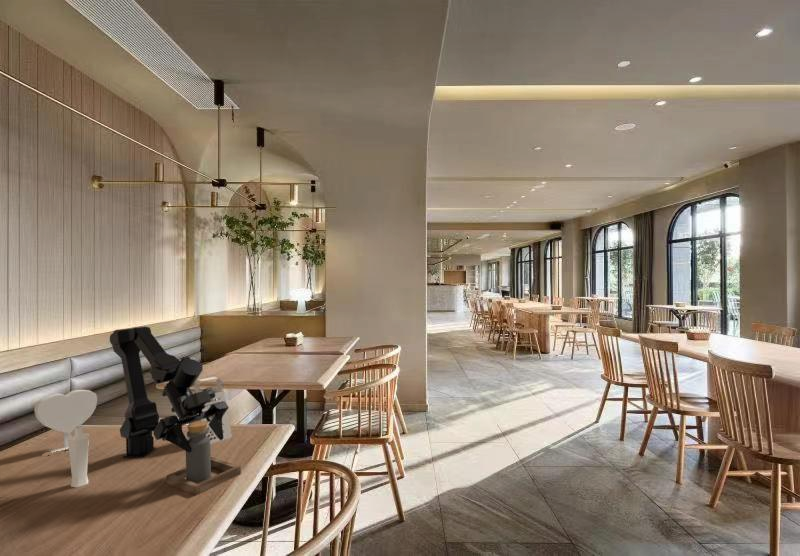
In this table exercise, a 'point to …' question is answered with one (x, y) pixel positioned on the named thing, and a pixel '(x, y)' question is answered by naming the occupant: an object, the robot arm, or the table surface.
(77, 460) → the perfume bottle
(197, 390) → the grater
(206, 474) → the bottle
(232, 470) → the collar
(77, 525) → the table surface
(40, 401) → the heart sculpture
